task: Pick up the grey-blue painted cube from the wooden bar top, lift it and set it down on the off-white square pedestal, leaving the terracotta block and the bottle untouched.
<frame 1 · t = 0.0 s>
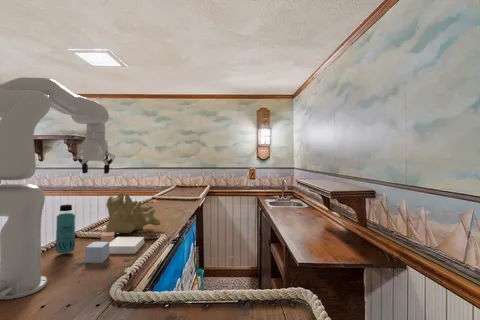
hand: (95, 173, 125), 31 cm above the table, tool pointing down, fingers open, 9 cm apart
terracotta block: (107, 245, 119), on the table
decorative coral: (131, 231, 139), on the table
grey-blue cube: (97, 259, 103), on the table
pedestal: (125, 248, 115), on the table
beverage bottle: (65, 254, 108), on the table
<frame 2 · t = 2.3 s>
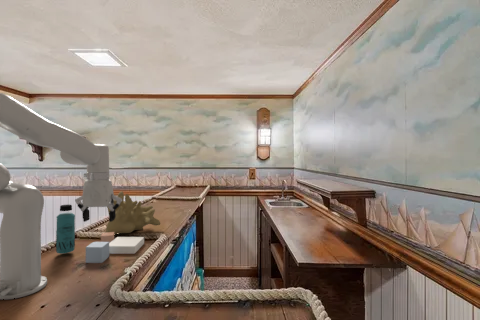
hand: (99, 220, 103), 15 cm above the table, tool pointing down, fingers open, 9 cm apart
nothing on the table moved.
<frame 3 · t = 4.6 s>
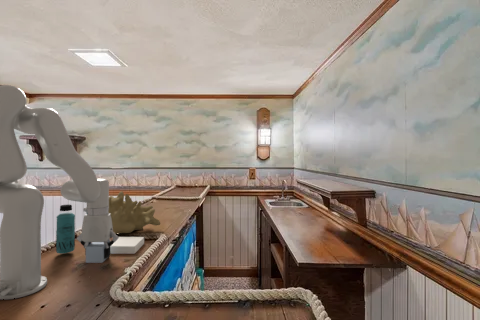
hand: (97, 257, 103), 1 cm above the table, tool pointing down, fingers closed on grey-blue cube, 6 cm apart
grey-blue cube: (97, 259, 103), on the table, touching gripper
everything else where it was.
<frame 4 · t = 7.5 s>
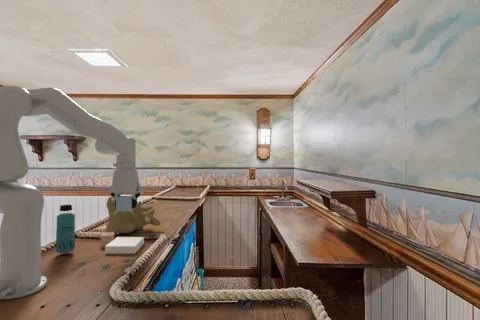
hand: (126, 207, 115), 18 cm above the table, tool pointing down, fingers closed on grey-blue cube, 6 cm apart
grey-blue cube: (126, 209, 115), point 17 cm above the table, touching gripper
everything else where it was.
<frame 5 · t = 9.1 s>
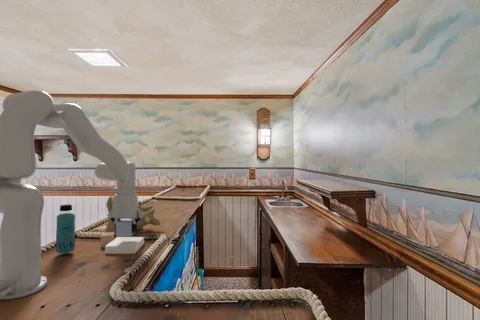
hand: (125, 232, 115), 7 cm above the table, tool pointing down, fingers closed on grey-blue cube, 6 cm apart
grey-blue cube: (126, 234, 115), point 6 cm above the table, touching gripper
everything else where it was.
when the fingers open (5 cm above the table, at t = 10.4 s): grey-blue cube drops 1 cm, resting on pedestal.
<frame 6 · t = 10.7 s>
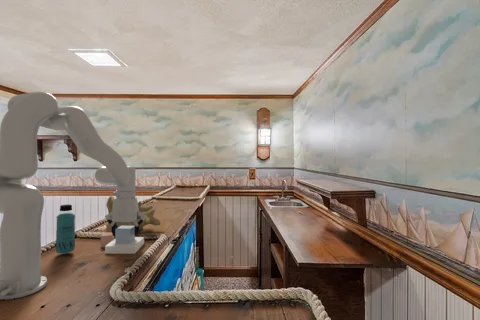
hand: (125, 234, 115), 6 cm above the table, tool pointing down, fingers open, 8 cm apart
grey-blue cube: (125, 241, 115), point 3 cm above the table, touching pedestal
everything else where it was.
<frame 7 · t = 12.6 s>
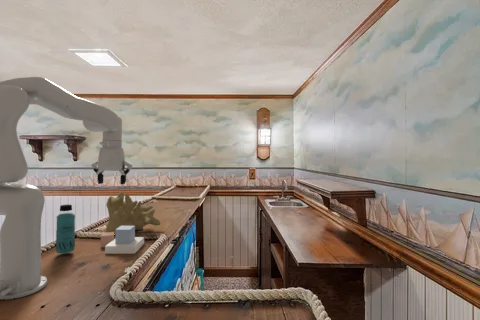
hand: (111, 183, 117), 27 cm above the table, tool pointing down, fingers open, 9 cm apart
nothing on the table moved.
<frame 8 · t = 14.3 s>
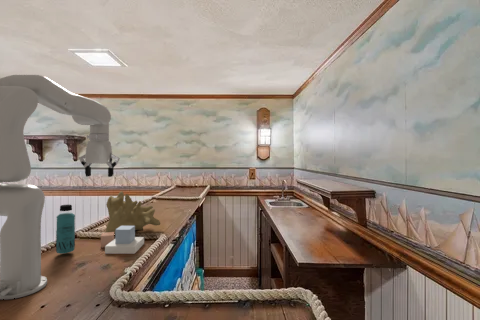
hand: (99, 176, 120), 30 cm above the table, tool pointing down, fingers open, 9 cm apart
nothing on the table moved.
at the end: grey-blue cube inside the target area on the pedestal (0.1 cm from its centre), point 3.0 cm above the pedestal's base; grey-blue cube tilted 0°; the gripper is holding nothing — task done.
